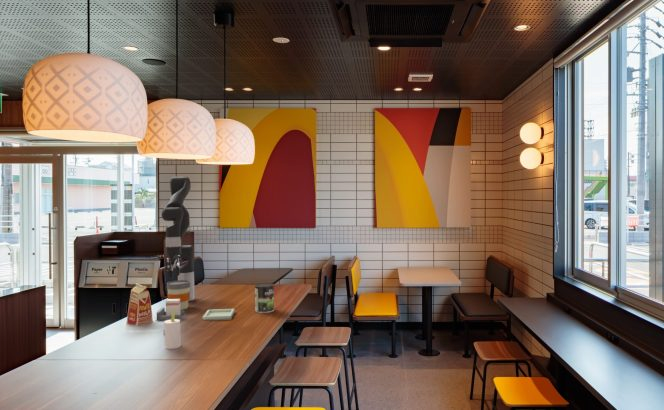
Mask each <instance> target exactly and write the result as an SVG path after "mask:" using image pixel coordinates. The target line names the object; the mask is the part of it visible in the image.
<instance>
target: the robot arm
mask: <svg viewBox="0 0 664 410" xmlns="http://www.w3.org/2000/svg"><path fill="white" fill-rule="evenodd" d="M191 185H192V184H191V179H190V177H189V176H172V177H170V180H169V188H170V199H169V201H168V204H166V205H165V206H164V207H163V209H162V211H161V218H162V220H163V221H165V222H172V223H173V224H172V225H167V226H166V227H165V255H166V256H168V257H167V258H165V271H167V275H168V276H167V278H168V279H173V278H174V276H175V277H176V276H177V281H178V280H188V281H190V298H189V300H188V302H192V301H194V300H195V260H194V259H195V248H194V246H193V245H192V244H191V245H190V244H189V245H188V244H187V245H186V244H185V245H183V244H182V240H183V238H184V235H185V233H187V231H188V229H189V227H190V224H191V223H190V222H191V221H190V213H189V211H188V210H187V208H186V207H185V205H184V201H185V199H186V198H187V196H188V194H189V193H190V190H191ZM183 261H185V262H187V263H186V264H184V265H182V262H183Z"/></svg>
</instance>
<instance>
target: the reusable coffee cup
mask: <svg viewBox="0 0 664 410" xmlns="http://www.w3.org/2000/svg"><path fill="white" fill-rule="evenodd" d="M166 290H167V300H168V299H180V311H184V310H186V309H188V308H189V307H188V305H189V301H188V300H189V298H190V281H188V280H178V279H177V280H172V281H167V283H166Z"/></svg>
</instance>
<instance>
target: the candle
mask: <svg viewBox="0 0 664 410" xmlns="http://www.w3.org/2000/svg"><path fill="white" fill-rule="evenodd" d="M174 317H175V311H173V313H172V316H171V319H170V320H166V321H163V338H164V349H167V350H174V349H177V348H180V347H181V345H182V344H181V343H182V341H181V339H182V338H181V336H182V335H181V320H179V319H174Z"/></svg>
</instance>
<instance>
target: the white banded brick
mask: <svg viewBox="0 0 664 410" xmlns="http://www.w3.org/2000/svg"><path fill="white" fill-rule="evenodd" d="M165 311H166V315H172V313H173V311H175V315H180V311H181V310H180V299H168V298H167V299H166V301H165Z"/></svg>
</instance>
